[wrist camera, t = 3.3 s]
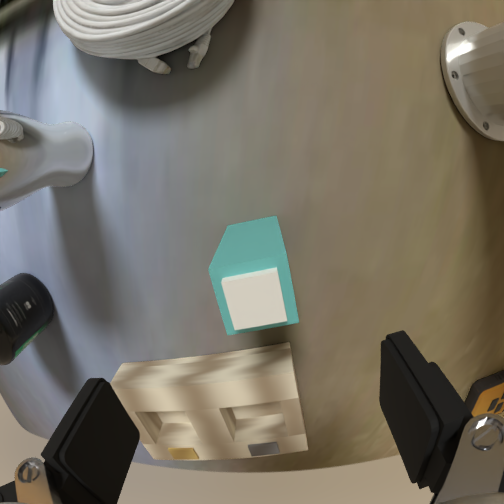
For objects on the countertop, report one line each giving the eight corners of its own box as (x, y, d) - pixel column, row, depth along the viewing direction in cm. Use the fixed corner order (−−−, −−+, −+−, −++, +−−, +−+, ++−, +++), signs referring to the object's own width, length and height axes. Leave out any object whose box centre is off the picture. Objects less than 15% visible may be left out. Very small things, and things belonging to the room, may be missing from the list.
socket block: (289, 342, 28) (293, 373, 24) (304, 421, 32) (308, 452, 27) (122, 362, 30) (105, 390, 25) (162, 433, 33) (153, 460, 29)
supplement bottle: (64, 323, 29) (3, 388, 17) (28, 327, 29) (-29, 382, 18) (40, 266, 27) (-36, 317, 15) (6, 276, 27) (-62, 322, 16)
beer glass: (95, 193, 25) (-33, 239, 10) (39, 189, 24) (-81, 226, 10) (102, 115, 22) (-30, 99, 8) (44, 118, 22) (-80, 117, 8)
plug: (276, 215, 25) (287, 257, 15) (285, 261, 26) (300, 328, 16) (227, 225, 25) (206, 273, 15) (238, 270, 26) (226, 341, 16)
